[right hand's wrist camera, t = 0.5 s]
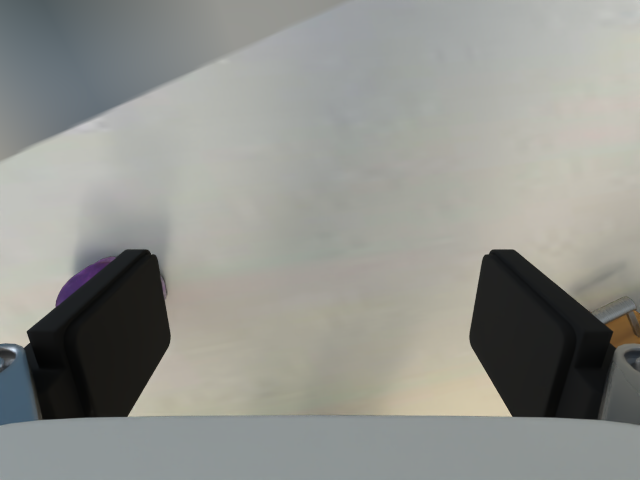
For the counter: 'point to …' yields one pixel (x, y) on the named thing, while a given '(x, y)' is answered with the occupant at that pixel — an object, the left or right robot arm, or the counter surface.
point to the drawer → (621, 321)
